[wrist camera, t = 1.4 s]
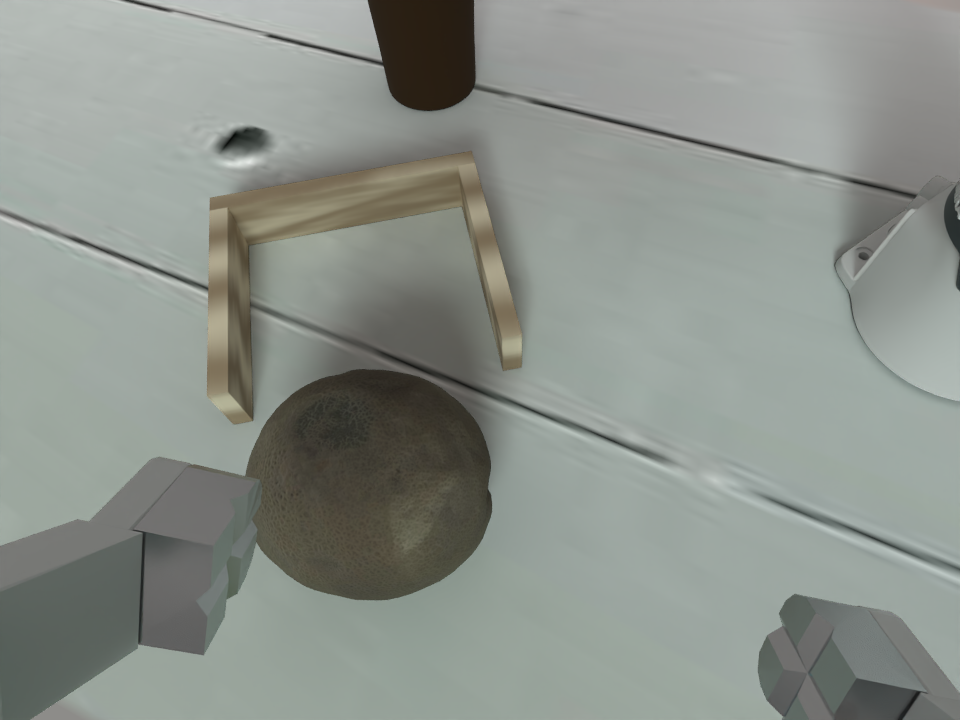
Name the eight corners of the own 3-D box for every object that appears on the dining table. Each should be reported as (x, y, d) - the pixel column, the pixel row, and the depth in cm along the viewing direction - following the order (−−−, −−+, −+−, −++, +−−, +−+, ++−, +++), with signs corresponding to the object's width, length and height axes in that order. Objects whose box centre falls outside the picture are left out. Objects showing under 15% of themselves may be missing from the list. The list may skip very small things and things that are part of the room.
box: (521, 367, 51) (522, 334, 47) (233, 424, 50) (206, 396, 46) (474, 191, 61) (471, 151, 57) (232, 236, 60) (209, 197, 55)
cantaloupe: (390, 394, 51) (347, 280, 38) (535, 502, 46) (543, 414, 33) (256, 535, 46) (153, 460, 33) (403, 673, 41) (351, 650, 28)
